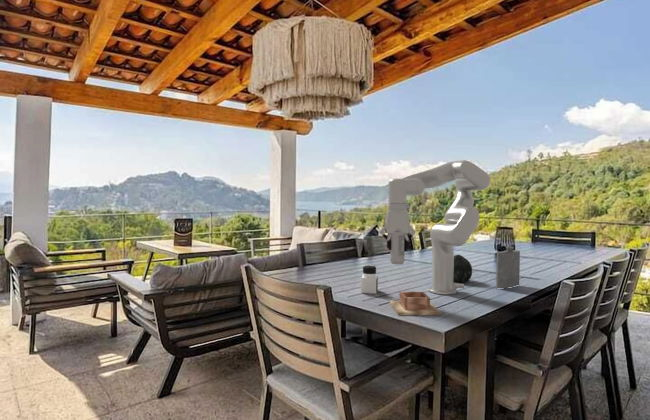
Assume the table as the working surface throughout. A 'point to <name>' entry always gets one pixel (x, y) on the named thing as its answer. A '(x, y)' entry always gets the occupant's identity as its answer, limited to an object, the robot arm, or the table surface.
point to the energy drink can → (397, 247)
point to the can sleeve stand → (414, 304)
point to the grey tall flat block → (508, 268)
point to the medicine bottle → (369, 280)
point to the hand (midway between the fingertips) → (397, 249)
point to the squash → (461, 269)
